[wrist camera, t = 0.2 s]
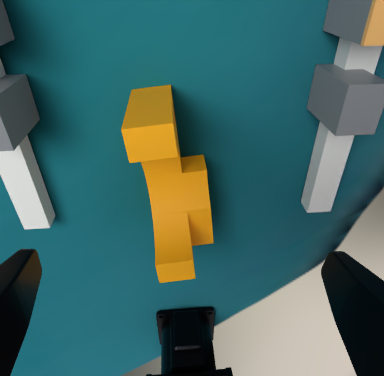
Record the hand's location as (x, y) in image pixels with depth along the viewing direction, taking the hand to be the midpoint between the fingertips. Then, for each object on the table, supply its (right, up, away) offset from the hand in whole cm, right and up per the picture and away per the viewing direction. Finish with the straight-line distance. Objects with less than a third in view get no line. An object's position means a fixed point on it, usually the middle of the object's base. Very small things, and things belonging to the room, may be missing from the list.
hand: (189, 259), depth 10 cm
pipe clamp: (-1, +4, +15) cm, 15 cm away
